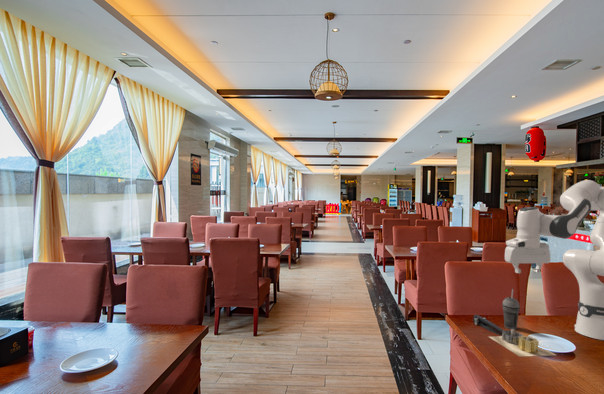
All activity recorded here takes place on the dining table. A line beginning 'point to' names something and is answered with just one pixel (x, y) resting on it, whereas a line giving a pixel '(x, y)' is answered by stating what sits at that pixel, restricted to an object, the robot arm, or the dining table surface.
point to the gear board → (517, 350)
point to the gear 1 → (511, 337)
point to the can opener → (486, 324)
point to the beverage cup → (510, 312)
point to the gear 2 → (528, 344)
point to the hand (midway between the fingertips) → (527, 272)
